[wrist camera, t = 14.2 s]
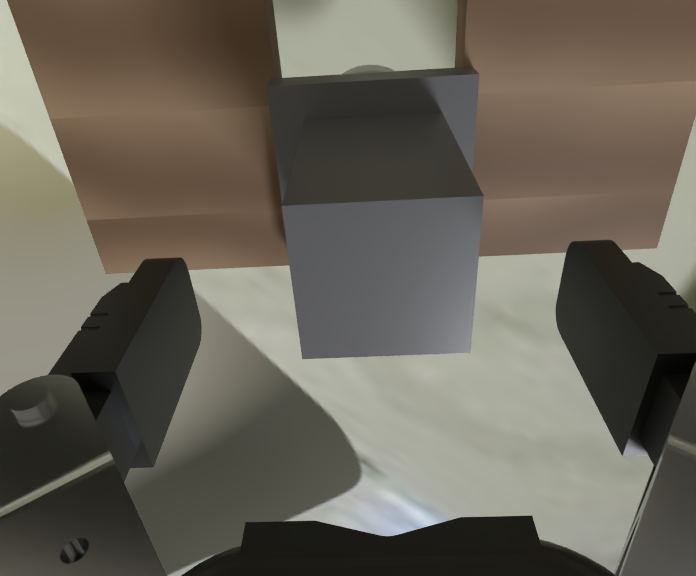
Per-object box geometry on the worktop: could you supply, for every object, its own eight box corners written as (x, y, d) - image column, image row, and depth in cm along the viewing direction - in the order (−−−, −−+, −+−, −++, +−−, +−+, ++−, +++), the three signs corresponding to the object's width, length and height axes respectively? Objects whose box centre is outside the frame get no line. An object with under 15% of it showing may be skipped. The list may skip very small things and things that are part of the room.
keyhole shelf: (121, -134, 23) (-62, -191, 13) (599, -172, 22) (806, -264, 12) (189, 160, 30) (106, 273, 20) (552, 140, 29) (656, 248, 19)
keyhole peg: (291, 45, 21) (222, 160, 10) (444, 35, 21) (542, 142, 10) (306, 188, 24) (266, 391, 13) (438, 181, 24) (508, 382, 13)
